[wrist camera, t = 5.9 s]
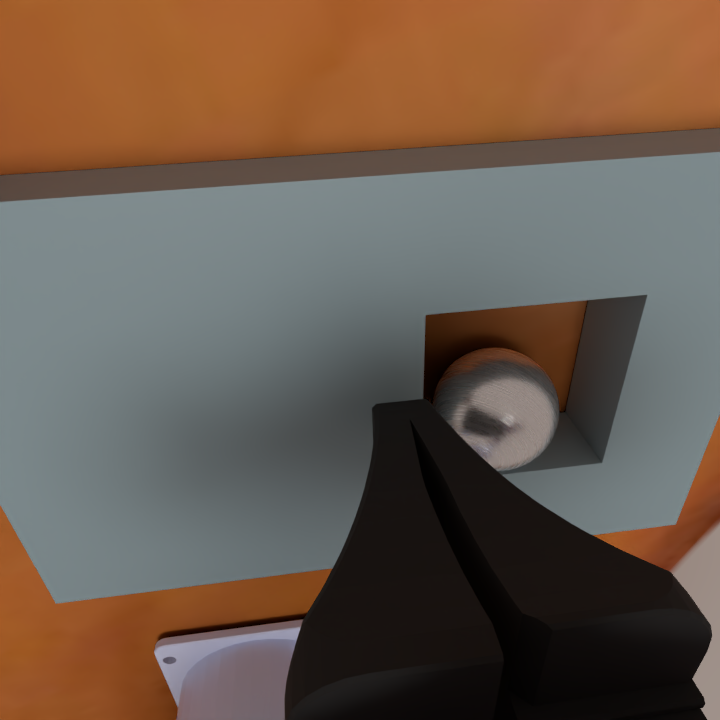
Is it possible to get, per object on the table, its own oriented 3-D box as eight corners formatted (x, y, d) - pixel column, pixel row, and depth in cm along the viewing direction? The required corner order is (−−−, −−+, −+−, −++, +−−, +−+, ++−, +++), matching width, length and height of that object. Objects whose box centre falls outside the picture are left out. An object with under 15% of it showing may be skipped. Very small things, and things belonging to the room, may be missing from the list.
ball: (562, 417, 17) (524, 512, 15) (459, 378, 18) (413, 461, 16) (588, 346, 14) (546, 452, 12) (464, 307, 16) (410, 397, 14)
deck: (634, 472, 20) (675, 524, 18) (82, 537, 18) (56, 603, 16) (743, 126, 14) (827, 144, 12) (-86, 180, 12) (-164, 213, 10)
